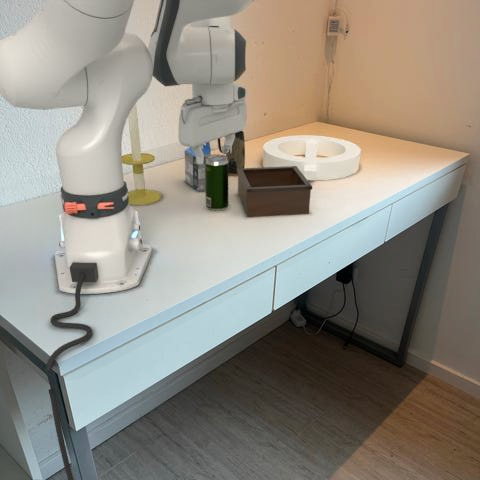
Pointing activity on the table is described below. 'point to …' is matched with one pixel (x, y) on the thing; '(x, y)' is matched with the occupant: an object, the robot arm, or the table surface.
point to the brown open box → (273, 191)
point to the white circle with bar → (313, 156)
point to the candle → (138, 165)
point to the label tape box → (196, 168)
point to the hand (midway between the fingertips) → (214, 158)
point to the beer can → (216, 182)
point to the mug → (236, 154)
